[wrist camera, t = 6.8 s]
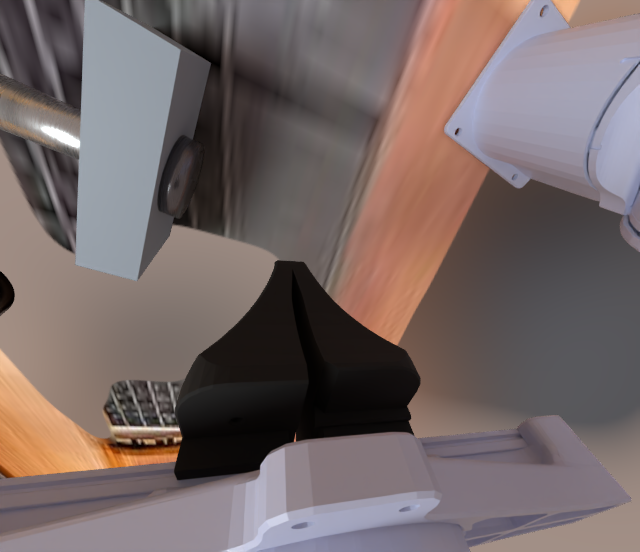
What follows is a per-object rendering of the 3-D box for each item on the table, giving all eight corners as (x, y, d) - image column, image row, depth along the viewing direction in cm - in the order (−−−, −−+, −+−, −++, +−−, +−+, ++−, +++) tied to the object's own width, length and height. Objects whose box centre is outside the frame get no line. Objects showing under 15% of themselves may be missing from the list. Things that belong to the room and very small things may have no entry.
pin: (209, 138, 16) (190, 152, 12) (191, 202, 18) (171, 231, 15) (21, 45, 13) (-81, 26, 9) (27, 137, 15) (-54, 153, 11)
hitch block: (211, 63, 15) (180, 49, 10) (169, 235, 20) (137, 281, 15) (152, 27, 13) (85, -8, 9) (125, 220, 19) (75, 265, 14)
